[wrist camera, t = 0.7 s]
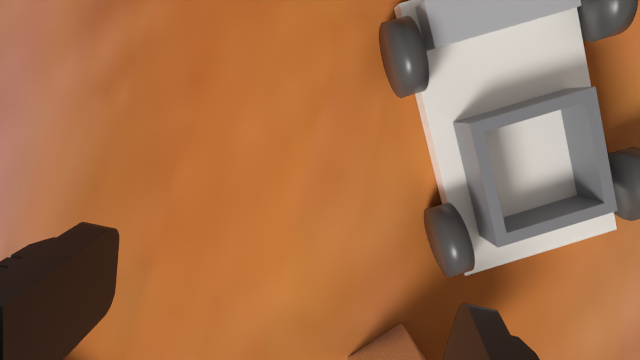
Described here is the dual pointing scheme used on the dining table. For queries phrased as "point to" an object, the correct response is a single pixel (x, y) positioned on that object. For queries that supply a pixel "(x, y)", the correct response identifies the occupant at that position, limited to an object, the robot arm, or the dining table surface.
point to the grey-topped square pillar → (390, 347)
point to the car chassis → (511, 124)
